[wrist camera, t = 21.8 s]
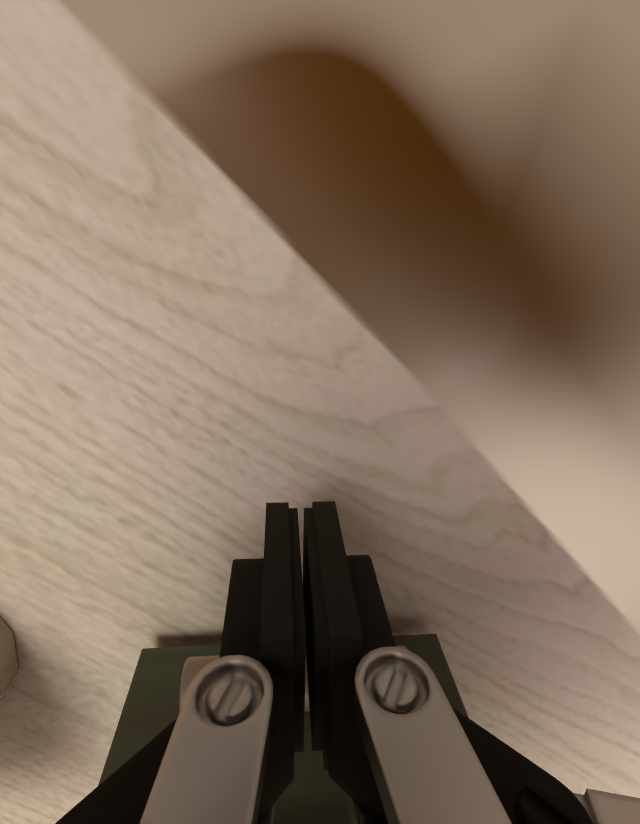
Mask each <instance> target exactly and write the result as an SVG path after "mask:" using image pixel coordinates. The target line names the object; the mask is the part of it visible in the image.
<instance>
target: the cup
mask: <svg viewBox="0 0 640 824" xmlns="http://www.w3.org/2000/svg"><path fill="white" fill-rule="evenodd" d="M17 670H18V661H17V654H16V648H15V641H14V634H13V632H12V631H11V630H10V628H9V627H8V626H7V625H6V624H5V622H4V621H3V620H2V619H1V618H0V698H1V697H2V695H3V693H4V692H5V690H6V688H7V687H8V685H9V683H10V681H11V680H12V678H13V676H14V675H15V673H16V671H17Z"/></svg>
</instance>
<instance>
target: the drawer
mask: <svg viewBox="0 0 640 824" xmlns="http://www.w3.org/2000/svg"><path fill="white" fill-rule="evenodd" d="M393 638H394V642H395V645H396V647H397V648H402V649H406V650H408V651H410V652H412V653H414V654H416V655H418V656H419V657H420V658H421V659H422V660H424V661H425V662H426V663H427V664H428V666H429V667H430V668H431V670H432V671H433V673H434V674H435V676H436V678H437V680H438V682H439V684H440V686H441V688H442V690H443V691H444V693H445V695H446V697H447V699H448V701H449V703H450V705H451V707H453V708H454V709H456V710H457V711H459V712H460V713H461V714H463V715H464V716H466V717H467V718H468V715H467V713H466V710H465V708H464V705H463V702H462V700H461V697H460V695H459V692H458V689H457V687H456V684H455V682H454V679H453V676H452V674H451V671H450V669H449V666H448V663H447V661H446V658H445V656H444V653H443V651H442V648H441V645H440V643H439V640H438V638H437V635H436V634H421V635H401V636H393ZM220 649H221V645H206V646H187V647H167V648H148V649H142V651H141V654H140V658H139V661H138V664H137V667H136V670H135V673H134V676H133V679H132V682H131V686H130V689H129V692H128V695H127V698H126V701H125V704H124V707H123V710H122V714H121V717H120V720H119V723H118V726H117V729H116V732H115V735H114V738H113V741H112V745H111V748H110V751H109V754H108V757H107V760H106V763H105V766H104V769H103V773H102V776H101V779H100V782H99V785H100V784H101V783H103V782H104V781H105V780H106V779H107V778H108V777H109V776H111V775H112V774H113V773H114V772H115V771H116V770H118V769H119V768H120V767H121V766H122V765H123V764H124V763H126V762H127V761H128V760H129V759H130V758H131V757H133V756H134V755H135V754H136V753H137V752H138V751H139V750H141V749H142V748H143V747H144V746H145V745H146V744H148V743H149V742H150V741H151V740H152V739H153V738H155V737H156V736H157V735H158V734H159V733H160V732H161V731H163V730H164V729H165V728H166V727H167V726H168V725H170V724H171V723H172V722H173V721H174V720H175V719H176V718H178V715H179V712H180V709H181V706H182V704H183V701H184V698H185V695H186V692H187V690H188V687H189V686H190V684H191V682H192V680H193V678H194V676H195V675H196V674H197V673H198V672H199V671H200V670H201V669H202V668H203V667H204V666H206V665H207V664H209V663H210V662H212V661H214V660H216V659H219V657H220ZM99 785H98V786H99ZM273 824H352V823H351V819H350V815H349V811H348V807H347V800H346V792H345V791H343V790H342V789H341V788H340V787H339V786H338V785H337V784H336V783H335V782H334V781H333V780H332V779H331V778H330V777H329V774H328V770H324V764H323V752H322V751H312V742H311V727H310V711H309V696H308V680H307V665H306V667H305V713H304V752H294V780H293V781H292V782H291V783H290V785H289V786H288V787H287V788H286V789H285V791H284V792H283V793H282V794H281V796H280V797H279V798H278V799H277V801H276V802H275V814H274V821H273Z"/></svg>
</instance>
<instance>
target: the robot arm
mask: <svg viewBox="0 0 640 824" xmlns="http://www.w3.org/2000/svg"><path fill="white" fill-rule="evenodd" d="M306 665H307V680H308V696H309V711H310V727H311V742H312V751H322V752H323V764H324V770H328V774H329V777H330V778H331V779H332V780H333V781H334V782H335V783H336V784H337V785H338V786H339V787H340V788H341V789H342V790H343V791H345V792H346V800H347V807H348V811H349V815H350V819H351V823H352V824H640V798H635V797H629V796H624V795H618V794H613V793H608V792H602V791H597V790H591V789H586V792H585V794H584V795H581V794H576V793H573V792H571V791H570V790H569V789H568V788H567V787H566V786H564V785H563V784H562V783H561V782H560V781H558V780H557V779H556V778H554V777H553V776H551V775H550V774H549V773H547V772H546V771H544V770H543V769H541V768H540V767H538V766H537V765H536V764H534V763H533V762H531V761H530V760H528V759H527V758H525V757H524V756H522V755H521V754H520V753H518V752H517V751H515V750H514V749H512V748H511V747H509V746H508V745H506V744H505V743H504V742H502V741H501V740H499V739H498V738H496V737H495V736H493V735H492V734H491V733H489V732H488V731H486V730H485V729H483V728H482V727H480V726H479V725H477V724H476V723H475V722H473V721H472V720H470V719H469V718H467V717H466V716H464V715H463V714H461V713H460V712H459V711H457V710H456V709H454V708H453V707H451V705H450V703H449V701H448V699H447V697H446V695H445V693H444V691H443V690H442V688H441V686H440V684H439V682H438V680H437V678H436V676H435V674H434V673H433V671H432V670H431V668H430V667H429V666H428V664H427V663H426V662H425V661H424V660H422V659H421V658H420V657H419V656H418V655H416V654H414V653H412V652H410V651H408V650H406V649H402V648H397V647H396V645H395V642H394V638H393V635H392V631H391V628H390V624H389V621H388V617H387V613H386V610H385V606H384V603H383V599H382V596H381V592H380V589H379V585H378V582H377V578H376V574H375V571H374V567H373V564H372V560H371V558H370V556H369V555H346V552H345V547H344V543H343V538H342V533H341V528H340V523H339V519H338V514H337V509H336V504H335V502H334V501H328V502H313V503H312V508H304V535H303V585H302V570H301V555H300V540H299V525H298V511H297V508H289V503H288V502H286V503H266V523H265V546H264V558H260V559H234V560H233V564H232V570H231V577H230V584H229V592H228V599H227V606H226V613H225V621H224V628H223V635H222V642H221V649H220V657H219V659H216V660H214V661H212V662H210V663H209V664H207V665H206V666H204V667H203V668H202V669H201V670H200V671H199V672H198V673H197V674H196V675H195V676H194V678H193V680H192V682H191V684H190V686H189V687H188V690H187V692H186V695H185V698H184V701H183V704H182V706H181V709H180V712H179V715H178V718H176V719H175V720H174V721H173V722H172V723H171V724H170V725H168V726H167V727H166V728H165V729H164V730H163V731H161V732H160V733H159V734H158V735H157V736H156V737H155V738H153V739H152V740H151V741H150V742H149V743H148V744H146V745H145V746H144V747H143V748H142V749H141V750H139V751H138V752H137V753H136V754H135V755H134V756H133V757H131V758H130V759H129V760H128V761H127V762H126V763H124V764H123V765H122V766H121V767H120V768H119V769H118V770H116V771H115V772H114V773H113V774H112V775H111V776H109V777H108V778H107V779H106V780H105V781H104V782H103V783H101V784H100V785H99V786H98V787H97V788H96V789H94V790H93V791H92V792H91V793H90V794H89V795H87V796H86V797H85V798H84V799H83V800H82V801H81V802H79V803H78V804H77V805H76V806H75V807H74V808H72V809H71V810H70V811H69V812H68V813H67V814H66V815H64V816H63V817H62V818H61V819H60V820H59V821H58V822H57V823H56V824H273V821H274V814H275V802H276V801H277V799H278V798H279V797H280V796H281V794H282V793H283V792H284V791H285V789H286V788H287V787H288V786H289V785H290V783H291V782H292V781H293V780H294V752H304V713H305V667H306Z"/></svg>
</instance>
